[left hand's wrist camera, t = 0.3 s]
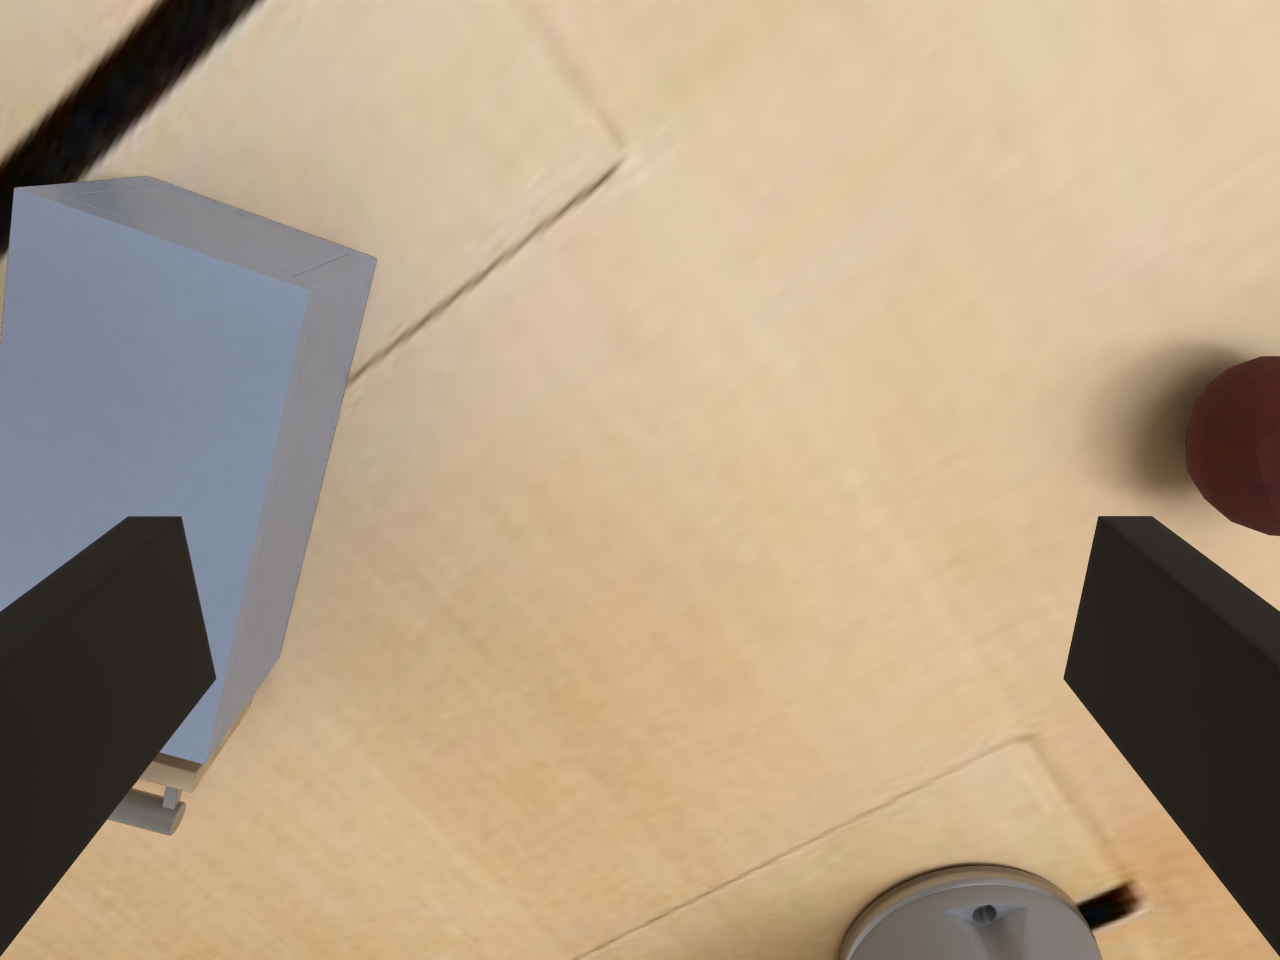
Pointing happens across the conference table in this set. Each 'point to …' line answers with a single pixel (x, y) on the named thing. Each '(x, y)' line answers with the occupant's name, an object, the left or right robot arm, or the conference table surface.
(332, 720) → the conference table surface
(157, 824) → the drawer
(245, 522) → the cabinet
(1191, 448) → the dark red ball
